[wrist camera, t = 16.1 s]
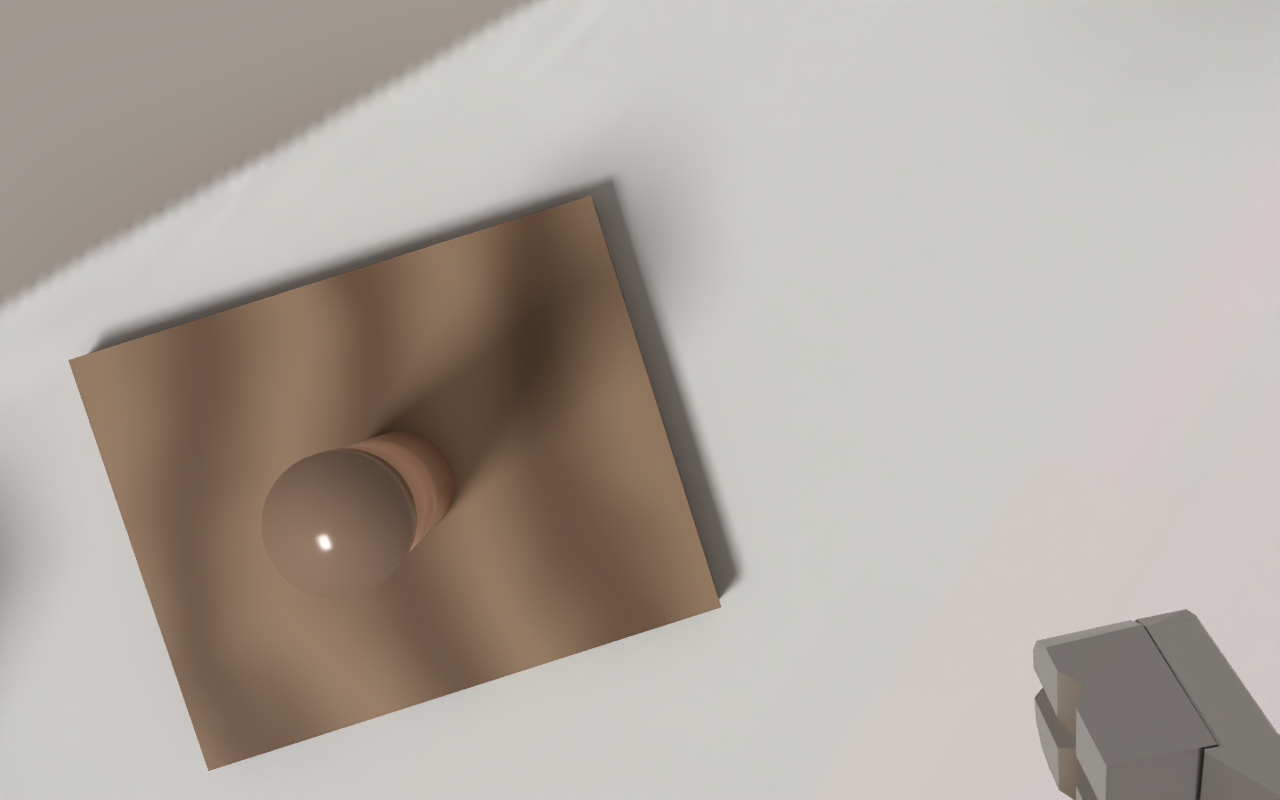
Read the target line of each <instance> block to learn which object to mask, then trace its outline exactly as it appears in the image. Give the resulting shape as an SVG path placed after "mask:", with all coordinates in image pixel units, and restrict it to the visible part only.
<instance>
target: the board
mask: <svg viewBox="0 0 1280 800" xmlns="http://www.w3.org/2000/svg"><path fill="white" fill-rule="evenodd" d="M69 363H70V366H71V369H72V372H73V375H74V378H75V381H76V384H77V387H78V389H79V392H80V395H81V398H82V401H83V404H84V407H85V410H86V413H87V416H88V419H89V422H90V425H91V428H92V431H93V433H94V436H95V439H96V442H97V445H98V448H99V451H100V454H101V457H102V460H103V463H104V466H105V469H106V472H107V474H108V477H109V480H110V483H111V486H112V489H113V492H114V495H115V498H116V501H117V504H118V507H119V510H120V513H121V516H122V518H123V521H124V524H125V527H126V530H127V533H128V536H129V539H130V542H131V545H132V548H133V551H134V554H135V557H136V560H137V562H138V565H139V568H140V571H141V574H142V577H143V580H144V583H145V586H146V589H147V592H148V595H149V598H150V601H151V604H152V606H153V609H154V612H155V615H156V618H157V621H158V624H159V627H160V630H161V633H162V636H163V639H164V642H165V645H166V647H167V650H168V653H169V656H170V659H171V662H172V665H173V668H174V671H175V674H176V677H177V680H178V683H179V686H180V689H181V691H182V694H183V697H184V700H185V703H186V706H187V709H188V712H189V715H190V718H191V721H192V724H193V727H194V730H195V733H196V735H197V738H198V741H199V744H200V747H201V750H202V753H203V756H204V759H205V762H206V765H207V768H208V771H210V770H213V769H216V768H219V767H222V766H225V765H229V764H232V763H235V762H238V761H241V760H244V759H247V758H250V757H254V756H257V755H260V754H263V753H266V752H269V751H272V750H275V749H279V748H282V747H285V746H288V745H291V744H294V743H297V742H301V741H304V740H307V739H310V738H313V737H316V736H319V735H322V734H326V733H329V732H332V731H335V730H338V729H341V728H344V727H348V726H351V725H354V724H357V723H360V722H363V721H366V720H369V719H373V718H376V717H379V716H382V715H385V714H388V713H391V712H395V711H398V710H401V709H404V708H407V707H410V706H413V705H416V704H420V703H423V702H426V701H429V700H432V699H435V698H438V697H441V696H445V695H448V694H451V693H454V692H457V691H460V690H463V689H467V688H470V687H473V686H476V685H479V684H482V683H485V682H488V681H492V680H495V679H498V678H501V677H504V676H507V675H510V674H514V673H517V672H520V671H523V670H526V669H529V668H532V667H535V666H539V665H542V664H545V663H548V662H551V661H554V660H557V659H560V658H564V657H567V656H570V655H573V654H576V653H579V652H582V651H586V650H589V649H592V648H595V647H598V646H601V645H604V644H607V643H611V642H614V641H617V640H620V639H623V638H626V637H629V636H633V635H636V634H639V633H642V632H645V631H648V630H651V629H654V628H658V627H661V626H664V625H667V624H670V623H673V622H676V621H679V620H683V619H686V618H689V617H692V616H695V615H698V614H701V613H705V612H708V611H711V610H714V609H717V608H720V607H721V605H720V602H719V599H718V596H717V592H716V589H715V586H714V583H713V580H712V577H711V573H710V570H709V567H708V564H707V561H706V558H705V554H704V551H703V548H702V545H701V542H700V539H699V535H698V532H697V529H696V526H695V523H694V520H693V516H692V513H691V510H690V507H689V504H688V501H687V498H686V494H685V491H684V488H683V485H682V482H681V479H680V475H679V472H678V469H677V466H676V463H675V460H674V456H673V453H672V450H671V447H670V444H669V441H668V437H667V434H666V431H665V428H664V425H663V422H662V418H661V415H660V412H659V409H658V406H657V403H656V400H655V396H654V393H653V390H652V387H651V384H650V381H649V377H648V374H647V371H646V368H645V365H644V362H643V358H642V355H641V352H640V349H639V346H638V343H637V339H636V336H635V333H634V330H633V327H632V324H631V321H630V317H629V314H628V311H627V308H626V305H625V302H624V298H623V295H622V292H621V289H620V286H619V283H618V279H617V276H616V273H615V270H614V267H613V264H612V260H611V257H610V254H609V251H608V248H607V245H606V241H605V238H604V235H603V232H602V229H601V226H600V223H599V219H598V216H597V213H596V210H595V207H594V204H593V200H592V197H591V195H590V196H587V197H584V198H581V199H577V200H574V201H571V202H568V203H565V204H562V205H558V206H555V207H552V208H549V209H546V210H543V211H539V212H536V213H533V214H530V215H527V216H524V217H520V218H517V219H514V220H511V221H508V222H505V223H501V224H498V225H495V226H492V227H489V228H486V229H482V230H479V231H476V232H473V233H470V234H467V235H463V236H460V237H457V238H454V239H451V240H448V241H444V242H441V243H438V244H435V245H432V246H429V247H425V248H422V249H419V250H416V251H413V252H410V253H406V254H403V255H400V256H397V257H394V258H391V259H387V260H384V261H381V262H378V263H375V264H372V265H368V266H365V267H362V268H359V269H356V270H353V271H349V272H346V273H343V274H340V275H337V276H334V277H330V278H327V279H324V280H321V281H318V282H315V283H311V284H308V285H305V286H302V287H299V288H296V289H292V290H289V291H286V292H283V293H280V294H277V295H273V296H270V297H267V298H264V299H261V300H258V301H254V302H251V303H248V304H245V305H242V306H239V307H235V308H232V309H229V310H226V311H223V312H220V313H216V314H213V315H210V316H207V317H204V318H201V319H197V320H194V321H191V322H188V323H185V324H182V325H178V326H175V327H172V328H169V329H166V330H163V331H159V332H156V333H153V334H150V335H147V336H144V337H140V338H137V339H134V340H131V341H128V342H125V343H121V344H118V345H115V346H112V347H109V348H106V349H102V350H99V351H96V352H93V353H90V354H87V355H83V356H80V357H77V358H74V359H71V360H69ZM389 432H408V433H413V434H416V435H419V436H421V437H424V438H426V439H427V440H429V441H430V442H432V443H433V444H434V445H436V446H437V447H438V448H439V450H440V451H441V452H442V453H443V454H444V456H445V457H446V459H447V461H448V463H449V465H450V468H451V471H452V475H453V481H454V491H453V498H452V501H451V504H450V507H449V509H448V511H447V513H446V514H445V516H444V517H443V519H442V520H441V521H440V522H439V523H438V524H437V525H436V526H435V527H434V528H433V529H432V530H431V531H430V532H429V533H428V534H427V535H426V536H425V537H424V538H423V539H422V540H421V541H420V542H419V543H418V544H417V545H416V546H415V547H414V548H413V549H412V550H411V551H410V552H409V553H408V555H407V556H406V558H405V560H404V561H403V562H402V563H401V565H400V566H399V567H398V568H397V569H396V570H395V571H394V572H393V573H392V574H391V575H390V576H389V577H388V578H387V579H386V580H385V581H384V582H382V583H381V584H380V585H378V586H377V587H376V588H374V589H372V590H370V591H368V592H366V593H363V594H361V595H358V596H354V597H350V598H341V599H330V598H323V597H318V596H315V595H311V594H309V593H306V592H304V591H302V590H300V589H298V588H297V587H295V586H293V585H292V584H291V583H290V582H288V581H287V580H286V579H285V578H284V577H283V576H282V575H281V574H280V573H279V572H278V571H277V569H276V568H275V567H274V565H273V564H272V562H271V560H270V558H269V557H268V554H267V552H266V549H265V546H264V542H263V538H262V530H261V518H262V511H263V507H264V503H265V500H266V498H267V495H268V493H269V491H270V489H271V488H272V486H273V484H274V483H275V482H276V480H277V479H278V478H279V477H280V475H281V474H282V473H283V472H285V471H286V470H287V469H288V468H289V467H290V466H292V465H293V464H295V463H296V462H298V461H300V460H302V459H304V458H306V457H309V456H311V455H314V454H317V453H320V452H323V451H327V450H331V449H339V448H345V447H347V446H350V445H353V444H356V443H359V442H362V441H365V440H367V439H370V438H373V437H376V436H379V435H382V434H385V433H389Z"/></svg>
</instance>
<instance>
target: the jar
mask: <svg viewBox="0 0 1280 800" xmlns="http://www.w3.org/2000/svg"><path fill="white" fill-rule="evenodd" d="M453 491H454V481H453V475H452V471H451V468H450V465H449V463H448V461H447V459H446V457H445V456H444V454H443V453H442V452H441V451H440V450H439V448H438V447H437V446H436V445H434V444H433V443H432V442H430V441H429V440H427V439H426V438H424V437H421V436H419V435H416V434H413V433H408V432H389V433H385V434H382V435H379V436H376V437H373V438H370V439H367V440H365V441H362V442H359V443H356V444H353V445H350V446H347V447H345V448H339V449H331V450H327V451H323V452H320V453H317V454H314V455H311V456H309V457H306V458H304V459H302V460H300V461H298V462H296V463H295V464H293V465H292V466H290V467H289V468H288V469H287V470H286V471H285V472H283V473H282V474H281V475H280V477H279V478H278V479H277V480H276V482H275V483H274V484H273V486H272V488H271V489H270V491H269V493H268V495H267V498H266V500H265V503H264V507H263V511H262V518H261V530H262V538H263V542H264V546H265V549H266V552H267V554H268V557H269V558H270V560H271V562H272V564H273V565H274V567H275V568H276V569H277V571H278V572H279V573H280V574H281V575H282V576H283V577H284V578H285V579H286V580H287V581H288V582H290V583H291V584H292V585H293V586H295V587H297V588H298V589H300V590H302V591H304V592H306V593H309V594H311V595H315V596H318V597H323V598H330V599H341V598H350V597H354V596H358V595H361V594H363V593H366V592H368V591H370V590H372V589H374V588H376V587H377V586H378V585H380V584H381V583H382V582H384V581H385V580H386V579H387V578H388V577H389V576H390V575H391V574H392V573H393V572H394V571H395V570H396V569H397V568H398V567H399V566H400V565H401V563H402V562H403V561H404V560H405V558H406V556H407V555H408V553H409V552H410V551H411V550H412V549H413V548H414V547H415V546H416V545H417V544H418V543H419V542H420V541H421V540H422V539H423V538H424V537H425V536H426V535H427V534H428V533H429V532H430V531H431V530H432V529H433V528H434V527H435V526H436V525H437V524H438V523H439V522H440V521H441V520H442V519H443V517H444V516H445V514H446V513H447V511H448V509H449V507H450V504H451V501H452V498H453Z"/></svg>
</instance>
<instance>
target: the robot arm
mask: <svg viewBox="0 0 1280 800" xmlns="http://www.w3.org/2000/svg"><path fill="white" fill-rule="evenodd" d="M1033 663H1034V669H1035V672H1036V674H1037V676H1038V678H1039V680H1040V682H1041V684H1042V686H1043V688H1042V689H1041V690H1040V692H1039V693H1038V694H1037V695H1036V697H1035V712H1036V723H1037V727H1038V732H1039V736H1040V741H1041V746H1042V749H1043V752H1044V755H1045V757H1046V760H1047V763H1048V766H1049V769H1050V771H1051V773H1052V775H1053V778H1054V780H1055V782H1056V784H1057V787H1058V789H1059V790H1060V791H1061V792H1063V793H1065V794H1066V795H1068V796H1069V797H1071V798H1072V799H1074V800H1280V734H1279V735H1278V733H1277V732H1276V730H1275V729H1274V728H1273V726H1272V725H1271V723H1270V722H1269V720H1268V719H1267V717H1266V716H1265V715H1264V713H1263V712H1262V710H1261V709H1260V707H1259V706H1258V704H1257V703H1256V701H1255V700H1254V699H1253V697H1252V696H1251V694H1250V693H1249V691H1248V690H1247V688H1246V687H1245V686H1244V684H1243V683H1242V681H1241V680H1240V678H1239V677H1238V675H1237V674H1236V673H1235V671H1234V670H1233V668H1232V667H1231V665H1230V664H1229V662H1228V661H1227V660H1226V658H1225V657H1224V655H1223V654H1222V652H1221V651H1220V649H1219V648H1218V647H1217V645H1216V644H1215V642H1214V641H1213V639H1212V638H1211V636H1210V635H1209V634H1208V632H1207V631H1206V629H1205V628H1204V626H1203V625H1202V623H1201V622H1200V621H1199V619H1198V618H1197V616H1196V615H1194V614H1193V613H1191V612H1190V611H1188V610H1187V609H1185V610H1181V611H1176V612H1171V613H1166V614H1161V615H1157V616H1152V617H1147V618H1142V619H1137V620H1135V621H1131V620H1129V621H1125V622H1120V623H1116V624H1111V625H1107V626H1102V627H1097V628H1093V629H1088V630H1084V631H1079V632H1074V633H1070V634H1065V635H1061V636H1056V637H1052V638H1047V639H1042V640H1038V641H1036V643H1035V646H1034V649H1033Z"/></svg>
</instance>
